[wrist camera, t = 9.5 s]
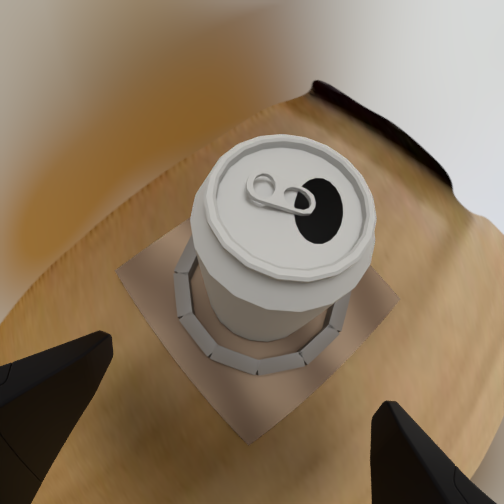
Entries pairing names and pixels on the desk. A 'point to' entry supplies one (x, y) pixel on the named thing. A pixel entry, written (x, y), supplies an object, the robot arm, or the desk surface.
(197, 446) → the desk surface
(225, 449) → the desk surface
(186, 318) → the collar board
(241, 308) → the can
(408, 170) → the desk surface
